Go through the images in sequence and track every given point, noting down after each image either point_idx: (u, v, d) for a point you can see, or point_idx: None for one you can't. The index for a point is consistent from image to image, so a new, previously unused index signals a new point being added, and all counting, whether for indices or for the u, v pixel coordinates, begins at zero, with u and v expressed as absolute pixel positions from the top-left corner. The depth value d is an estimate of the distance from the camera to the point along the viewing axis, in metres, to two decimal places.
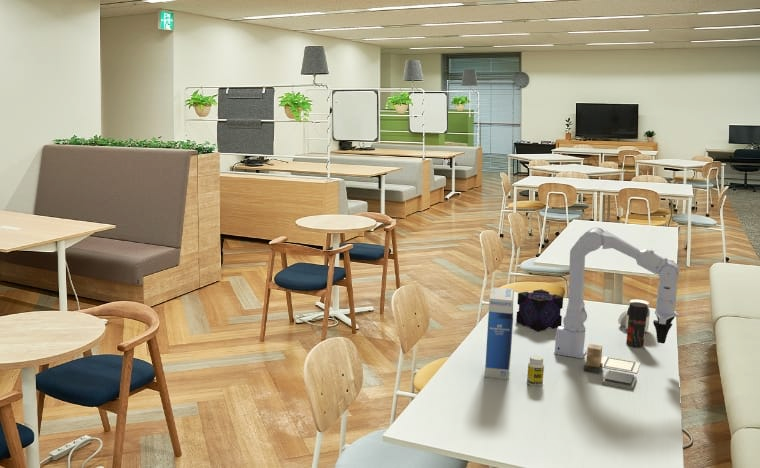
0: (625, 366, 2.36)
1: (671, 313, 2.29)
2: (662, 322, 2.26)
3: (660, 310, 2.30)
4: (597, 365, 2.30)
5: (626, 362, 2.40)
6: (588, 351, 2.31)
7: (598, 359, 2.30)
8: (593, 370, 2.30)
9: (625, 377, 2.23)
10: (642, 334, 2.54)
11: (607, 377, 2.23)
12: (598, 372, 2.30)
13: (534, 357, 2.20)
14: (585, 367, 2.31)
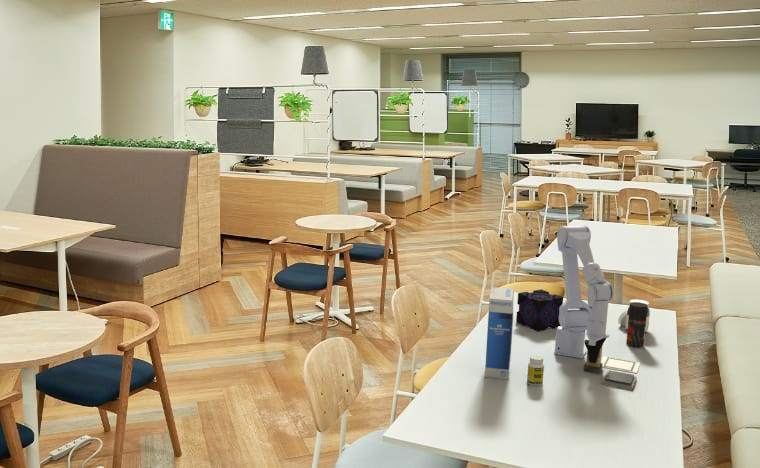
0: (625, 366, 2.36)
1: (602, 334, 2.28)
2: (591, 343, 2.24)
3: (590, 331, 2.29)
4: (597, 365, 2.30)
5: (626, 362, 2.40)
6: None
7: (598, 359, 2.30)
8: (593, 370, 2.30)
9: (625, 377, 2.23)
10: (642, 334, 2.54)
11: (607, 377, 2.23)
12: (598, 372, 2.30)
13: (534, 357, 2.20)
14: (585, 367, 2.31)
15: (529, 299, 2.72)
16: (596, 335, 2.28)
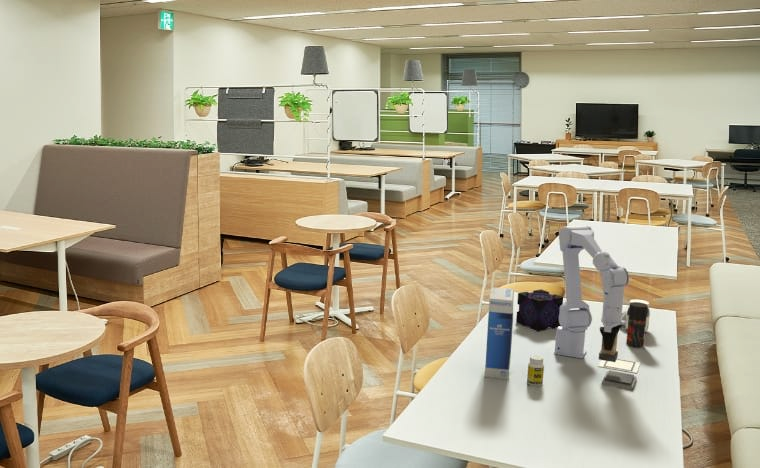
0: (625, 366, 2.36)
1: (617, 321, 2.22)
2: (607, 330, 2.18)
3: (606, 317, 2.23)
4: (612, 353, 2.24)
5: (626, 362, 2.40)
6: None
7: (613, 347, 2.24)
8: (608, 358, 2.24)
9: (625, 377, 2.23)
10: (642, 334, 2.54)
11: (607, 377, 2.23)
12: (613, 360, 2.24)
13: (534, 357, 2.20)
14: (600, 355, 2.25)
15: (529, 299, 2.72)
16: (612, 322, 2.22)
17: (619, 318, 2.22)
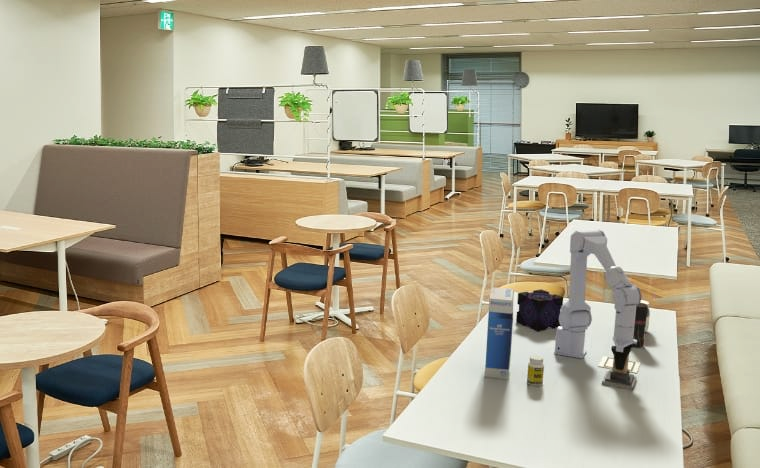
0: None
1: (629, 340, 2.18)
2: (619, 350, 2.15)
3: (617, 336, 2.19)
4: (624, 371, 2.21)
5: None
6: None
7: (625, 365, 2.20)
8: (620, 377, 2.21)
9: None
10: (642, 334, 2.54)
11: (607, 377, 2.23)
12: (625, 379, 2.20)
13: (534, 357, 2.20)
14: (611, 373, 2.22)
15: (529, 299, 2.72)
16: (623, 341, 2.18)
17: (631, 337, 2.19)
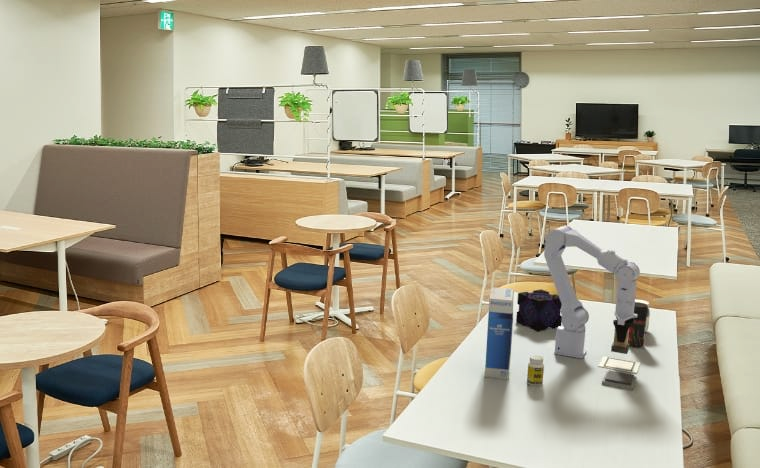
0: (625, 366, 2.36)
1: (630, 314, 2.32)
2: (620, 323, 2.28)
3: (619, 311, 2.32)
4: (624, 345, 2.34)
5: (626, 362, 2.40)
6: (615, 331, 2.35)
7: (625, 339, 2.34)
8: (620, 350, 2.34)
9: (625, 377, 2.23)
10: (642, 334, 2.54)
11: (607, 377, 2.23)
12: (625, 352, 2.34)
13: (534, 357, 2.20)
14: (612, 347, 2.35)
15: (529, 299, 2.72)
16: (625, 315, 2.32)
17: (632, 311, 2.32)
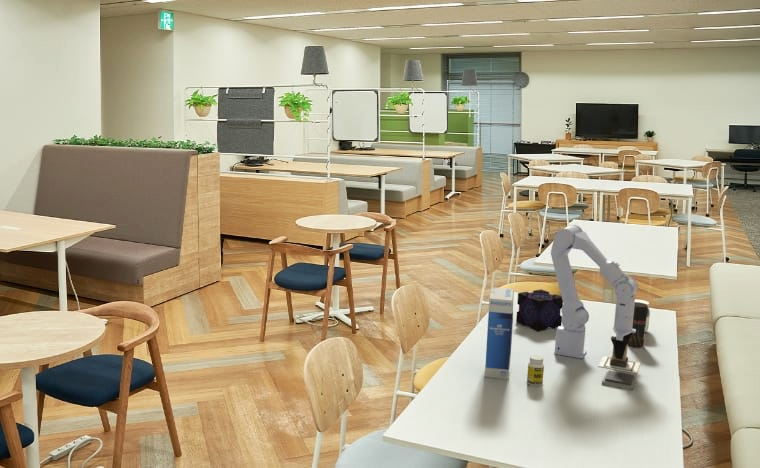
0: None
1: (628, 329, 2.33)
2: (619, 338, 2.29)
3: (618, 326, 2.34)
4: (623, 359, 2.35)
5: None
6: None
7: (624, 353, 2.35)
8: (619, 364, 2.35)
9: (625, 377, 2.23)
10: (642, 334, 2.54)
11: (607, 377, 2.23)
12: (624, 366, 2.35)
13: (534, 357, 2.20)
14: (611, 361, 2.36)
15: (529, 299, 2.72)
16: (623, 330, 2.33)
17: (630, 327, 2.33)
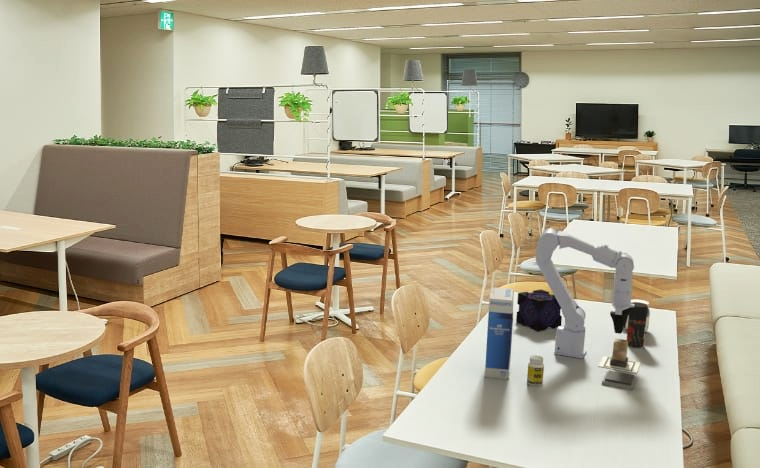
0: None
1: (627, 304, 2.37)
2: (618, 313, 2.33)
3: (616, 301, 2.37)
4: (623, 359, 2.35)
5: None
6: (614, 345, 2.36)
7: (624, 353, 2.35)
8: (619, 364, 2.35)
9: (625, 377, 2.23)
10: (642, 334, 2.54)
11: (607, 377, 2.23)
12: (624, 366, 2.35)
13: (534, 357, 2.20)
14: (611, 361, 2.36)
15: (529, 299, 2.72)
16: (622, 305, 2.36)
17: (629, 301, 2.37)
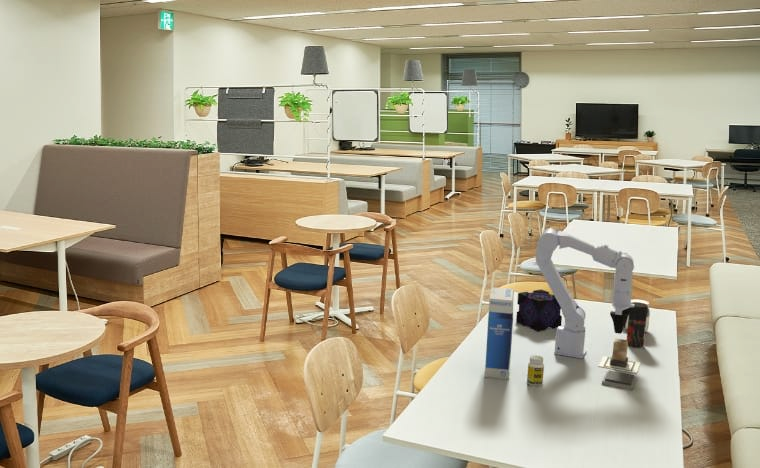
0: None
1: (627, 304, 2.37)
2: (618, 313, 2.33)
3: (616, 301, 2.37)
4: (623, 359, 2.35)
5: None
6: (614, 345, 2.36)
7: (624, 353, 2.35)
8: (619, 364, 2.35)
9: (625, 377, 2.23)
10: (642, 334, 2.54)
11: (607, 377, 2.23)
12: (624, 366, 2.35)
13: (534, 357, 2.20)
14: (611, 361, 2.36)
15: (529, 299, 2.72)
16: (622, 305, 2.36)
17: (629, 301, 2.37)
